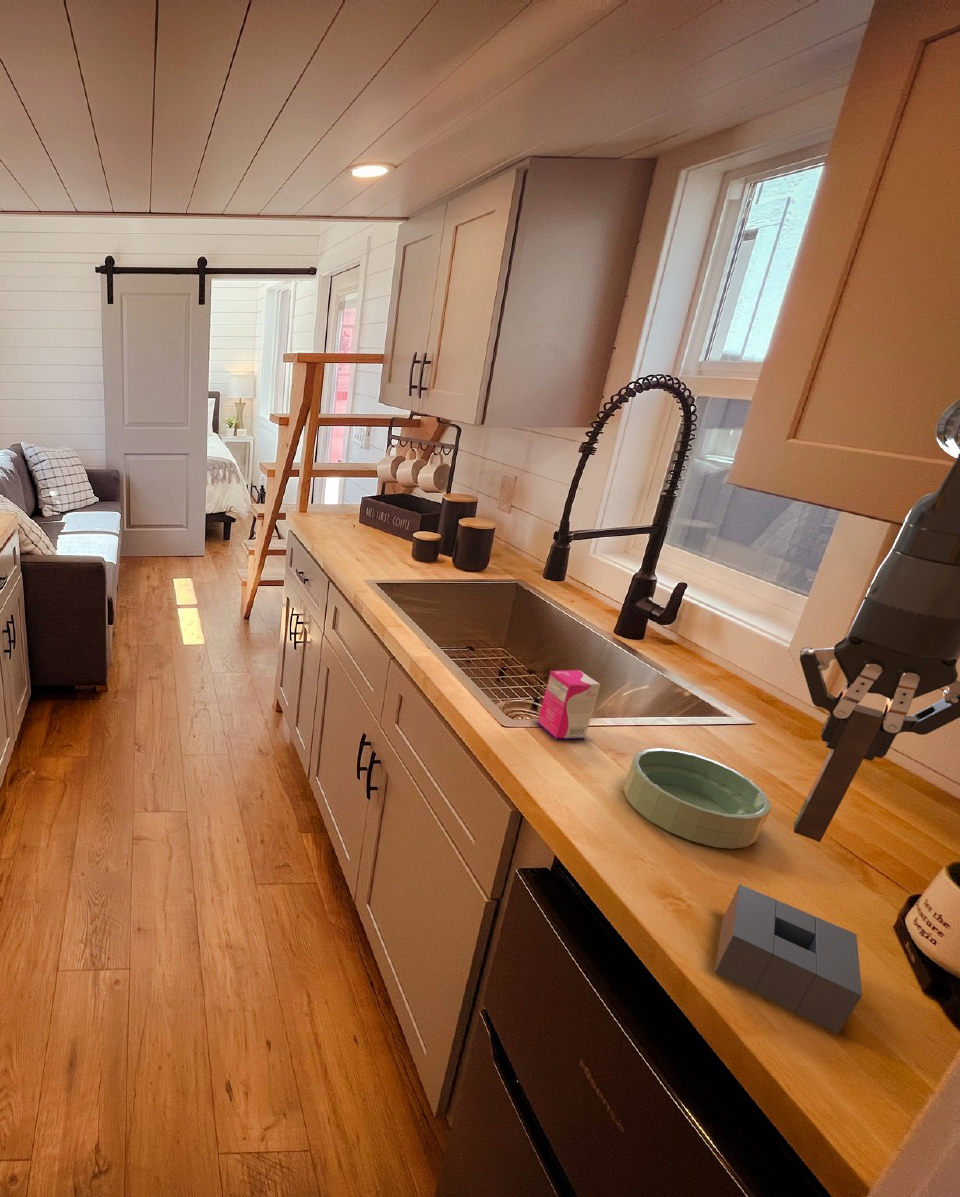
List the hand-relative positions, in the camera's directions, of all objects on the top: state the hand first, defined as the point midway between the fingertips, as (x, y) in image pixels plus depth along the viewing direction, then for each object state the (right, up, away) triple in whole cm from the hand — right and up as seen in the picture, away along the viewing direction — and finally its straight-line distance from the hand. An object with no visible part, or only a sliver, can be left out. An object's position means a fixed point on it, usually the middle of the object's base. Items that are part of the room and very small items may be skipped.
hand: (848, 750), depth 69 cm
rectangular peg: (0, -10, +4) cm, 11 cm away
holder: (-3, -27, +5) cm, 28 cm away
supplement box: (+1, -9, +51) cm, 52 cm away
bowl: (+8, -17, +31) cm, 36 cm away
